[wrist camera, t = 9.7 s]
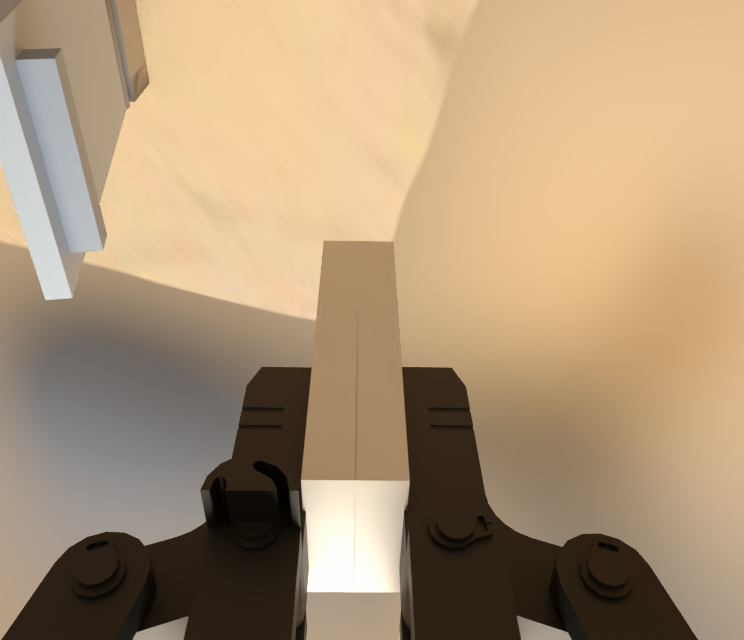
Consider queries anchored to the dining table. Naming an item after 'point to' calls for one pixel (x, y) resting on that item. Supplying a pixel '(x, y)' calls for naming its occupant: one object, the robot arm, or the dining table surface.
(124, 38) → the gray u-shaped frame
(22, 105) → the cover
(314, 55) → the dining table surface
